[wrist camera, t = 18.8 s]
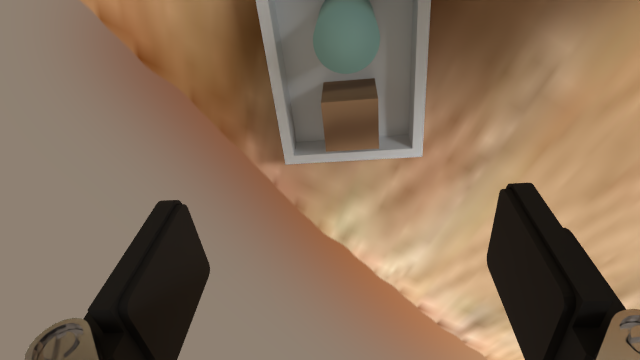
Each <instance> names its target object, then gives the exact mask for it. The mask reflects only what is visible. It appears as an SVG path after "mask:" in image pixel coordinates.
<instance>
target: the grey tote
mask: <svg viewBox="0 0 640 360" xmlns="http://www.w3.org/2000/svg"><path fill="white" fill-rule="evenodd" d="M324 1H325V0H256V5H257V10H258V16H259V21H260V27H261V32H262V38H263V43H264V49H265V54H266V60H267V65H268V71H269V76H270V82H271V87H272V93H273V98H274V104H275V109H276V115H277V120H278V126H279V131H280V137H281V142H282V148H283V153H284V159H285V164H304V163H321V162H338V161H356V160H373V159H390V158H408V157H422V153H423V135H424V117H425V99H426V81H427V63H428V45H429V27H430V9H431V0H369V1H370V3H371V5H372V7H373V10H374V14H375V18H376V21H377V25H378V28H379V32H380V45H379V49H378V52H377V54H376V56H375V58H374V59H373V61H372V62H371V63H370V64H369V65H368V66H367V67H365V68H364V69H362V70H360V71H358V72H355V73H351V74H340V73H336V72H333V71H331V70H329V69H328V68H326V67H325V66H324V65H323V64H322V63H321V62H320V61H319V59H318V58H317V56H316V53H315V51H314V47H313V34H314V30H315V26H316V22H317V19H318V15H319V12H320V9H321V6H322V4H323V2H324ZM370 78H375V83H376V89H377V94H378V115H379V149H364V150H347V151H331V152H326V147H325V137H324V128H323V119H322V110H321V97H322V90H323V83H324V82H332V81H345V80H358V79H370Z"/></svg>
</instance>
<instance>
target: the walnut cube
mask: <svg viewBox="0 0 640 360" xmlns="http://www.w3.org/2000/svg"><path fill="white" fill-rule="evenodd" d="M321 110H322V119H323V128H324V137H325V147H326V152H331V151H347V150H364V149H379V115H378V94H377V89H376V83H375V78H370V79H358V80H345V81H332V82H324V83H323V90H322V97H321Z"/></svg>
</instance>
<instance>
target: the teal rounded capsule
mask: <svg viewBox="0 0 640 360" xmlns="http://www.w3.org/2000/svg"><path fill="white" fill-rule="evenodd" d="M379 45H380V32H379V28H378V25H377V21H376V18H375V14H374V10H373V7H372V5H371V3H370V1H369V0H325V1H324V2H323V4H322V6H321V9H320V12H319V15H318V19H317V22H316V26H315V30H314V34H313V47H314V51H315V53H316V56H317V58H318V59H319V61H320V62H321V63H322V64H323V65H324V66H325V67H326V68H328V69H329V70H331V71H333V72H336V73H340V74H351V73H355V72H358V71H360V70H362V69H364V68H365V67H367V66H368V65H369V64H370V63H371V62H372V61H373V59H374V58H375V56H376V54H377V52H378V49H379Z"/></svg>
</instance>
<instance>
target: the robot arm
mask: <svg viewBox="0 0 640 360" xmlns="http://www.w3.org/2000/svg"><path fill="white" fill-rule="evenodd" d="M487 265H488V268H489V271H490V273H491V276H492V278H493V281H494V283H495V286H496V288H497V291H498V293H499V296H500V298H501V301H502V303H503V306H504V308H505V311H506V313H507V316H508V318H509V321H510V323H511V326H512V328H513V331H514V333H515V336H516V338H517V341H518V343H519V346H520V348H521V351H522V353H523V356H524V358H525V360H640V310H638V309H629V310H626V308H625V307H624V306H623V304H622V303H621V301H620V300H619V299H618V297H617V296H616V294H615V293H614V292H613V290H612V289H611V287H610V286H609V284H608V283H607V282H606V280H605V279H604V277H603V276H602V275H601V273H600V272H599V270H598V269H597V267H596V266H595V265H594V263H593V262H592V260H591V259H590V258H589V256H588V255H587V253H586V252H585V250H584V249H583V248H582V246H581V245H580V243H579V242H578V241H577V239H576V238H575V236H574V235H573V234H572V232H571V231H570V230H569V229H566V228H563V227H562V226H561V225H560V223H559V222H558V220H557V219H556V217H555V216H554V214H553V213H552V211H551V210H550V209H549V207H548V206H547V204H546V203H545V201H544V200H543V198H542V197H541V195H540V194H539V193H538V191H537V190H536V188H535V187H534V185H533V184H532V183H514V184H508V185H507V187H506V189H502V190H501V191H500V193H499V198H498V203H497V208H496V213H495V218H494V223H493V228H492V233H491V238H490V243H489V248H488V253H487ZM209 273H210V267H209V262H208V260H207V257H206V255H205V252H204V249H203V247H202V244H201V241H200V239H199V237H198V234H197V231H196V228H195V226H194V223H193V220H192V218H191V215H190V213H189V210H188V208H187V206H186V205H184V204H182V203H181V202H180V201H179V200H169V201H159V202H158V203H157V204H156V206H155V208H154V209H153V211H152V212H151V214H150V215H149V217H148V218H147V220H146V221H145V223H144V224H143V226H142V228H141V229H140V231H139V232H138V234H137V235H136V237H135V238H134V240H133V241H132V243H131V244H130V246H129V247H128V249H127V250H126V252H125V253H124V255H123V256H122V258H121V260H120V261H119V263H118V264H117V266H116V267H115V269H114V270H113V272H112V273H111V275H110V276H109V278H108V279H107V281H106V283H105V284H104V286H103V287H102V289H101V290H100V292H99V293H98V295H97V296H96V298H95V299H94V301H93V303H92V304H91V306H90V307H89V309H88V313H87V314H86V316H85V318H84V319H81V318H71V319H66V320H63V321H60V322H58V323H55V324H54V325H52V326H51V327H49V328H47V329H46V330H44V331H43V332H42V333H41V334H40V335H39V336H37V337H36V338H35V340H34V341H33V342H32V343H31V345H30V346H29V348H28V350H27V352H26V354H25V360H177V358H178V356H179V353H180V351H181V348H182V345H183V343H184V340H185V337H186V334H187V332H188V329H189V327H190V324H191V322H192V319H193V316H194V314H195V311H196V308H197V306H198V303H199V300H200V298H201V295H202V293H203V290H204V287H205V285H206V282H207V279H208V277H209Z"/></svg>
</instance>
